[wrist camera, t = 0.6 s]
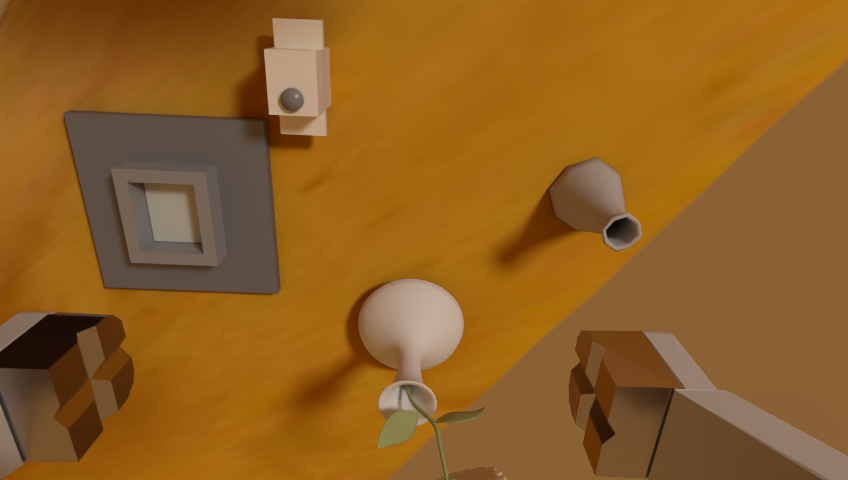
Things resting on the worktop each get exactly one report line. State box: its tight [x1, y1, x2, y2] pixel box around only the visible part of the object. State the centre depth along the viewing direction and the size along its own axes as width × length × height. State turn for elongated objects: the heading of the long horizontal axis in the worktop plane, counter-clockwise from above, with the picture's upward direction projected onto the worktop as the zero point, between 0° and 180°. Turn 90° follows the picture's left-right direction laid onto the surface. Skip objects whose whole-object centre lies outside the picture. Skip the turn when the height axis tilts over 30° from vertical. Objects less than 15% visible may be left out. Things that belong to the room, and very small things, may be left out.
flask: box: [549, 157, 642, 252], centre depth 45 cm, size 7×7×10 cm
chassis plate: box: [63, 111, 281, 294], centre depth 48 cm, size 18×18×4 cm
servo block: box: [264, 18, 331, 136], centre depth 42 cm, size 9×4×6 cm, turn 178°
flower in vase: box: [358, 279, 506, 480], centre depth 44 cm, size 13×11×25 cm
